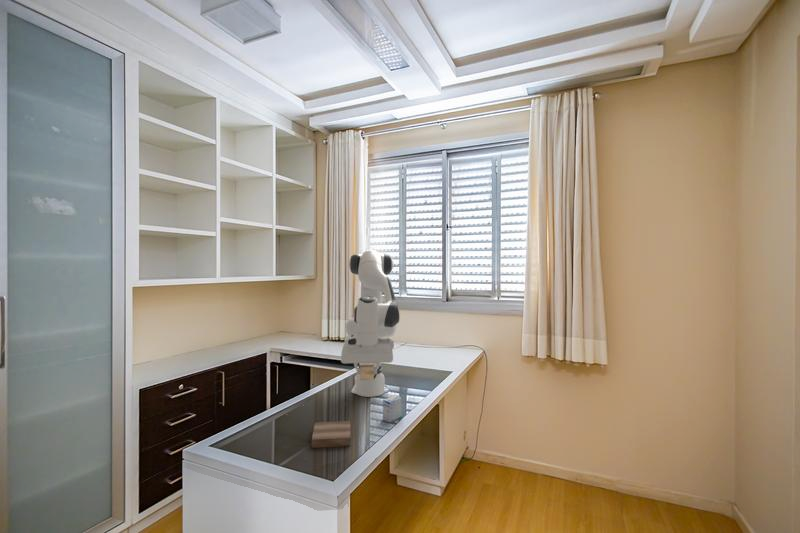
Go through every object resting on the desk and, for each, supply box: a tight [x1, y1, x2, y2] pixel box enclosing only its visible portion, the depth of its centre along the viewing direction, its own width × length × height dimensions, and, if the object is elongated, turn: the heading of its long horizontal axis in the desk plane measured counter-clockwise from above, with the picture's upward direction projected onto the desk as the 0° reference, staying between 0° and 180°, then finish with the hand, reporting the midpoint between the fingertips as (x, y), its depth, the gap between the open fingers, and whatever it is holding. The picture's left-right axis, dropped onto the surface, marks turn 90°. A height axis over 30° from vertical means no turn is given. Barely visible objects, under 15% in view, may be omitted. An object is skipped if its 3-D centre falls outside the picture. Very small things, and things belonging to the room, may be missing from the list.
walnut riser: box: [311, 420, 352, 449], centre depth 143 cm, size 14×14×3 cm
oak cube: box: [359, 363, 374, 380], centre depth 145 cm, size 5×5×5 cm
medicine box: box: [382, 394, 403, 423], centre depth 161 cm, size 8×4×9 cm, turn 141°
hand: (366, 373), depth 145 cm, fingers closed on oak cube, 5 cm apart
